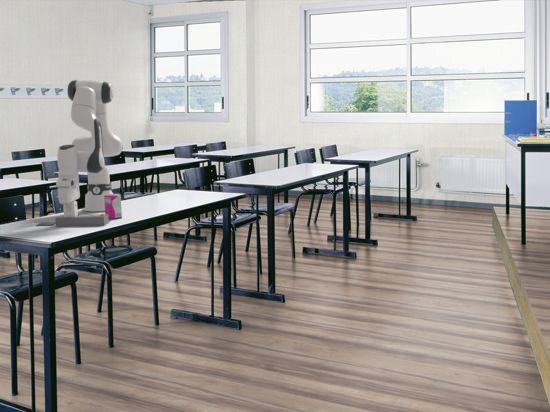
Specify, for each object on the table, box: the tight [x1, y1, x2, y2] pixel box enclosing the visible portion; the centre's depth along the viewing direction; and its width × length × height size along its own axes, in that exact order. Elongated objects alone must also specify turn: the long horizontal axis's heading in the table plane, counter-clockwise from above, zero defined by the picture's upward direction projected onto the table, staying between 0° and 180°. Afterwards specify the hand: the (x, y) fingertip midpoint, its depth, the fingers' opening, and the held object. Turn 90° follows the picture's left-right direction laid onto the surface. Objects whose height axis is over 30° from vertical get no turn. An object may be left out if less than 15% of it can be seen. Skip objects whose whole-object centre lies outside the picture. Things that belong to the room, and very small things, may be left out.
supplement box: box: [104, 193, 123, 220], centre depth 317 cm, size 6×6×12 cm
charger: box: [62, 200, 79, 217], centre depth 300 cm, size 4×5×7 cm
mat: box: [35, 221, 55, 227], centre depth 302 cm, size 7×7×1 cm
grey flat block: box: [54, 212, 112, 227], centre depth 304 cm, size 16×22×5 cm
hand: (70, 211), depth 300 cm, fingers closed on charger, 4 cm apart
